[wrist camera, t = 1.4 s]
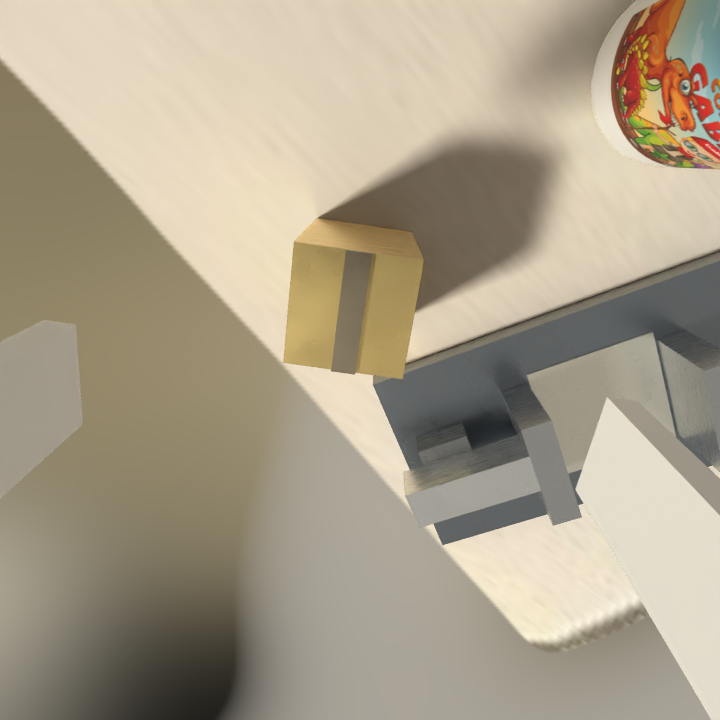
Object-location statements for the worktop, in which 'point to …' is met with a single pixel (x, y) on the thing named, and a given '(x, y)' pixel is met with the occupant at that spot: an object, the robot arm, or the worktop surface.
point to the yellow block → (352, 298)
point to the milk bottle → (661, 84)
